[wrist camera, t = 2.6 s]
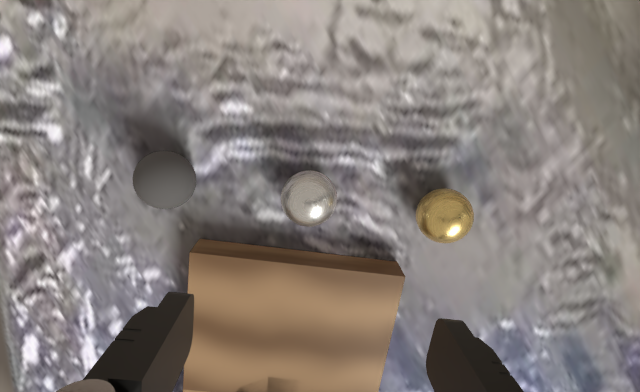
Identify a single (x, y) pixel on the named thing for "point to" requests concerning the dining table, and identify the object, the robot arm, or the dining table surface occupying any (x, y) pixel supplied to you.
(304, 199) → the steel ball
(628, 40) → the dining table surface
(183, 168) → the rubber ball
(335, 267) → the board
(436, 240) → the brass ball
